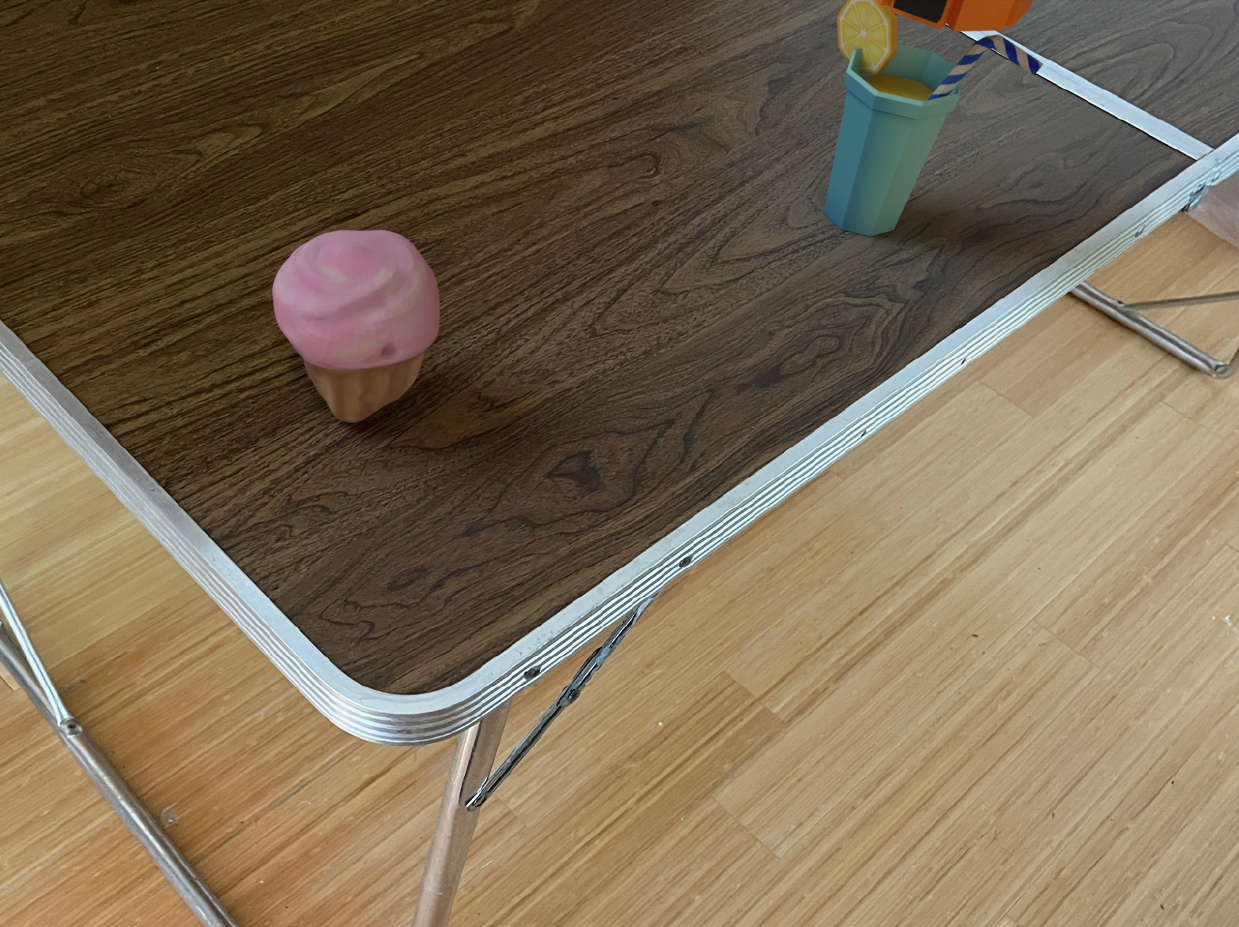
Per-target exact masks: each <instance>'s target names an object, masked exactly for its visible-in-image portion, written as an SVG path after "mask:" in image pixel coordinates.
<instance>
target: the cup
mask: <svg viewBox="0 0 1239 927" xmlns="http://www.w3.org/2000/svg"><path fill="white" fill-rule="evenodd" d="M890 8H891V6H890V5H880V4H879V3H878V1H877V0H846V2H844V4H843V6H842V7H841V9H840V11H839V12H838V14H837V15H836V28H837V29H836V30H837V48H838V50H839V52H840V53H841V54H842V56H843V57H844V59H845V60H846V62H847V63H848V64H847V65H848V66H847V68H846V72H845V78H844V79H845V80H844V85H843V86H844V88H845V89H847V90H846V94H845V100H844V106H843V111H842V116H841V120H840V127H839V130H838V136H837V141H836V146H835V152H834V157H833V162H832V167H831V172H830V176H829V182H828V188H827V193H826V198H825V203H824V207H823V214H824V215H825V216H826V217H827V218H828V219H829V220H830V221H831V222H833V224H834V225H836V227H837V228H839V229H840V230H842V231H847V232H851V233H855V234H859V235H862V236H866V237H874V236H877V235H880V234H885V233H888V232H891V231H894V230H895V228H896V226H897V224H898V222H899V219H900V217H901V215H902V213H903V211H904V208H905V206H906V205H907V202H908V200H909V198H910V196H911V193H912V191H913V190H914V187H915V184H916V183H917V180H918V178H919V177H920V174H921V172H922V170H923V168H924V166H925V163H926V162H927V159H928V157H929V155H930V152H931V150H932V148H933V146H934V144H935V142H936V140H937V138H938V135H939V133H940V131H941V129H942V126H943V124H944V122H945V120H946V118H947V116H948V114H949V113H952V112H954V110H955V108H956V106H957V104H958V103H959V100H960V99H961V92H962V86H963V81H964V77H965V76H966V75H967V74H968V72H970V70H971V69H972V67H974V66H975V64H976V63H977V62H978V60H979V59H980V58H981V57H982V56H983V55H984V53H986V51H989V50H994V51H995V52H997V53H998V54H1000V55H1002V56H1003V57H1004V58H1006V59H1008V60H1009V61H1010V62H1012V63H1014V64H1016V65H1017V66H1019V67H1020V68H1022V69H1023V70H1025V71H1026V72H1028V73H1030V74H1031V75H1032V76H1035V75H1036V74H1037V73H1038V72H1039V71H1040V70H1041V69H1042V67H1043V65H1044V63H1043V62H1042V61H1040V60H1038V59H1037V58H1036V57H1034V56H1033V55H1032V54H1030V53H1028V52H1027V51H1025V50H1024V49H1022V48H1021V47H1019V46H1018V45H1016V44H1015V43H1013V42H1012V41H1010V40H1009V39H1007V38H1006V37H1004V36H1003V35H1001V34H999V33H998V34H991V35H985V36H984V37H981V38H979V39H978V40H976V41H975V42H974V43H973V44H972V45H971V46H970V48H969V49H968V50H967V51H966V52H965V54H964V55H963V56H962V57H961V58H960V60H958V62H957V64H955V66H953V65H952V64H951V63H949V62H947V61H946V60H945V59H944V58H942V57H941V56H940V55H938V54H937V53H936V52H935V51H932V50H928V49H923V48H920V47H914V46H910V45H905V44H901V43H899V34H898V31H899V30H898V17H897V15H895V14H896V13H893V12H890Z"/></svg>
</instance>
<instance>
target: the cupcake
mask: <svg viewBox="0 0 1239 927" xmlns="http://www.w3.org/2000/svg"><path fill="white" fill-rule="evenodd" d="M271 291H272V302H273V311H274V316H275V320H276V322H277V326H278V327H279V329H280V331H281V332H282V333H283V335H284V336H285V337H286V338H287V340H288V341H289V343H290V344H291V345H292V347H293V349H294V350H295V351H296V352H297V354H298V355H300V356H301V357H302V360H303V364H304V367H305V370H306V373H307V376H308V378H309V379H310V380H311V382H312V383H313V385H314V387H315V389H316V390H317V393H318V395H319V396H320V397H321V398H322V399H323V400H324V401H325V402H326V405H327V406H328V408H329V410H330V412H331V413H332V415H333V416H334V417H335V418H336V419H337V420H339V421H341V422H343V423H350V424H352V423H353V424H354V423H359V422H361V421H364V420H366V419H367V418H368V417H371V415H373V414H374V413H376V412H377V411H379V410H380V409H382V408H384V407H385V406H387V405H388V404H391V403H393V402H396V401H398V400H399V399H400V398H401V397H402V396H403V395H404V394H405V393H406V392H407V391H408V390H409V389H410V388H411V387H412V386H413V385H414V383H415V382H416V379H417V378H418V375H419V373H420V370H421V367H422V363H423V360H424V357H425V353H426V350H427V349H428V348H429V347H431V345H432V344H433V343H434V342H435V340H436V339H437V337H438V335H439V332H440V319H441V318H440V315H441V314H440V313H441V304H440V303H441V301H440V292H439V287H438V282H437V277H436V276H435V274H434V272H433V269H432V268H431V266H430V265H429V263H428V262H427V261H426V260H425V258H424V256H423V255H422V254H421V253H420V251H419V250H418V248H417V247H416V246H415V245H414V243H412V241H410V240H409V239H407V237H405V236H403V235H401V234H400V233H397V232H393V231H391V230H390V231H389V230H387V229H386V230H385V229H377V230H375V229H374V230H349V229H348V230H347V229H341V230H335V231H329V232H325V233H322V234H320V235H318V236H315V237H313V238H312V239H310V240H309V241H307V242H305V243H304V244H303V243H302V244H301V245H300V246H298V247H297V248H296V249H295V250H294V251H292V253H291V255H290V256H289V257H288V258H287V259H286V261H284V263H282V265H281V266H280V268H279V270H278V272H277V273H276V275H275V278H274V280H273V284H272V290H271Z"/></svg>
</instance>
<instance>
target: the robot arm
mask: <svg viewBox="0 0 1239 927" xmlns="http://www.w3.org/2000/svg"><path fill="white" fill-rule="evenodd" d="M946 3H947V0H895V1H894V5H893V8H895V9H898V10H901V11H903V12H906V13H909V14H912V15H915V16H917V17H920V18H923V19H926V20H929V21H931V22H934V23H937V22H938V21H939V20H940V19H941V18H942V15H943V12H944V9H945V6H946Z"/></svg>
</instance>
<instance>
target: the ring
mask: <svg viewBox="0 0 1239 927" xmlns="http://www.w3.org/2000/svg"><path fill="white" fill-rule="evenodd" d="M877 1H878V3H879V4H880V5H888V6H890V12H893V13H894V14H896V15H898V16H901V17H904V18H907V19H910V20H913V21H915V22H918V23H921V24H924V25H926V26H929V27H932V28H935V29H938V30H942V29H943V28H944V27H945V26H946V25H947V26H948V27H949V28H950V30H951V31H952V32H955V33H956V32H957V33H958V32H1001V31H1004V30H1005V27H1007V28H1013V27H1014V26H1015V25H1016V24H1017V23H1018V22H1019V20H1020V19H1021V18H1022V17H1023V16H1024V15H1025V14H1026V12H1028V10H1030V8H1031V5H1032V2H1033V0H947V3H946V6H945V9H944V12H943V15H942V18H941V19H940V20H939V21H938V22H937V23H934V22H931V21H929V20H926V19H923V18H920V17H917V16H915V15H912V14H909V13H906V12H903V11H901V10H898V9H895V8H893V5H894V1H895V0H877Z"/></svg>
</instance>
